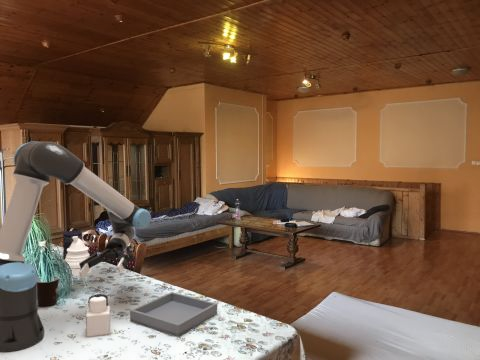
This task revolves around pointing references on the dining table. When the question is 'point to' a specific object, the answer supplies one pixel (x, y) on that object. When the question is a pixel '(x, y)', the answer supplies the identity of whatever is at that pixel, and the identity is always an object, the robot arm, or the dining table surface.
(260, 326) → the dining table surface
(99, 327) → the medicine bottle
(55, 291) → the brown plant pot
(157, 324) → the box
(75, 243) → the honey pot
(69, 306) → the dining table surface
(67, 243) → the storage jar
